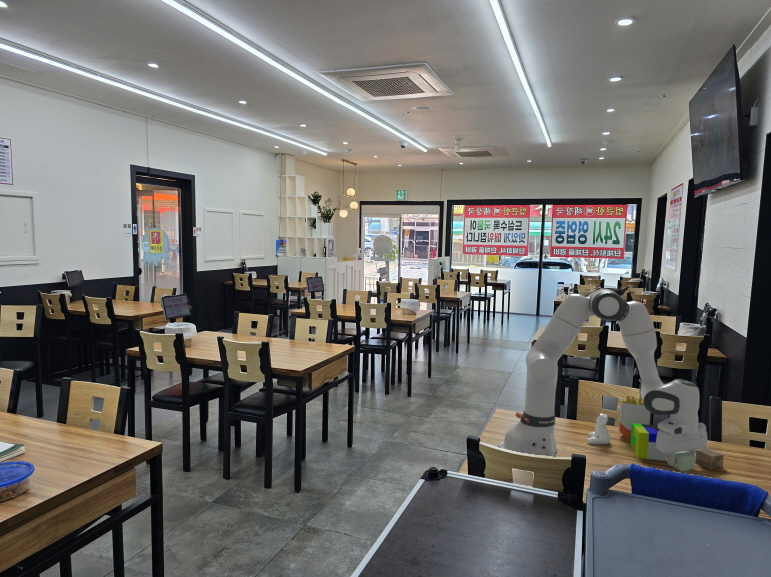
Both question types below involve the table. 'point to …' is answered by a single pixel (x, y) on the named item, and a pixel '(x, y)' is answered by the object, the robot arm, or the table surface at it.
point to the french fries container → (632, 415)
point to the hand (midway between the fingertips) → (681, 461)
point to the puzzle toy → (646, 442)
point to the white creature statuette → (600, 432)
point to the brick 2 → (709, 458)
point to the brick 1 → (683, 461)
